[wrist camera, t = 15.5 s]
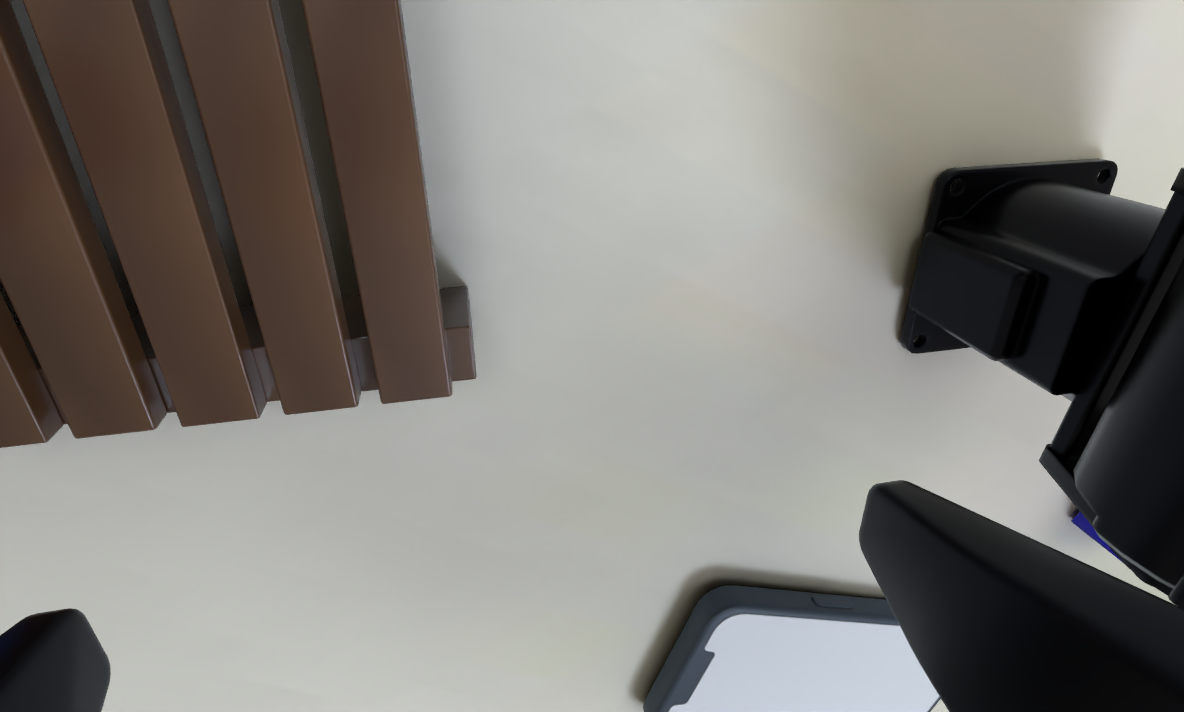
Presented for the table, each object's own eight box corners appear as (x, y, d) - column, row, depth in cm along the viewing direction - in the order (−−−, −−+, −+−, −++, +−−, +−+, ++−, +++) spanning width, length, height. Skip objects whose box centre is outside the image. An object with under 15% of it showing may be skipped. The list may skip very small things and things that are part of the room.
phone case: (978, 600, 32) (705, 572, 27) (1002, 626, 31) (719, 603, 26) (889, 715, 36) (631, 711, 30) (908, 743, 34) (640, 744, 29)
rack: (405, -261, 14) (378, -438, 8) (472, 333, 20) (481, 442, 15) (-646, -316, 11) (-1673, -636, 6) (-174, 396, 17) (-444, 559, 12)
